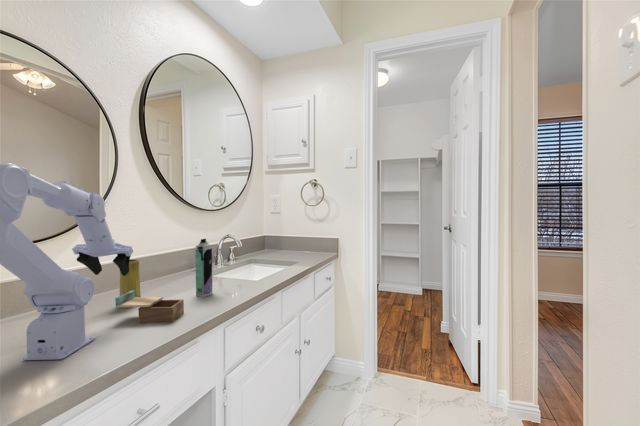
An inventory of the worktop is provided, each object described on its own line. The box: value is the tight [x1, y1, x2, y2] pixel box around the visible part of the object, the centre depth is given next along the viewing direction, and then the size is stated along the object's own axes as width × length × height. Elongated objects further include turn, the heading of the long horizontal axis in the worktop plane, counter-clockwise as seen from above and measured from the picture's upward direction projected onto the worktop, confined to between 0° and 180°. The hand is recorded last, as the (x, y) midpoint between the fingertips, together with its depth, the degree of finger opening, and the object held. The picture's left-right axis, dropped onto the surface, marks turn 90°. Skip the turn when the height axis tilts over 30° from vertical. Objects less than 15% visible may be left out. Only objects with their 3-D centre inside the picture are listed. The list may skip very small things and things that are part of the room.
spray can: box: [194, 238, 213, 298], centre depth 104 cm, size 6×6×20 cm
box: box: [137, 299, 185, 324], centre depth 82 cm, size 7×9×4 cm
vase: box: [119, 258, 142, 309], centre depth 94 cm, size 6×6×14 cm
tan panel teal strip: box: [115, 291, 164, 309], centre depth 82 cm, size 7×9×3 cm
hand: (112, 272), depth 84 cm, fingers open, 7 cm apart
